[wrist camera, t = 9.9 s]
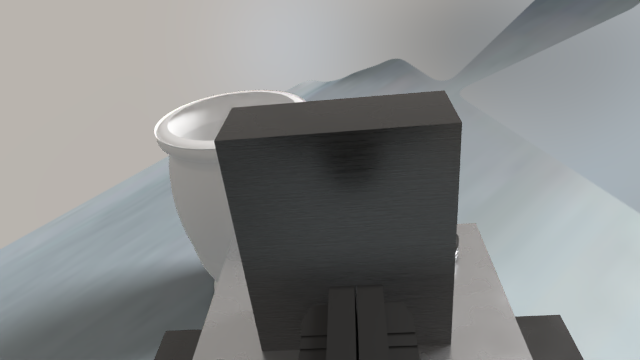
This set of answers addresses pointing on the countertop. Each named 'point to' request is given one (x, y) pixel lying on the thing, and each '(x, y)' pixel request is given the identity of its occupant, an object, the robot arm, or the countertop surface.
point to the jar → (205, 169)
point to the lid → (352, 227)
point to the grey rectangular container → (538, 331)
